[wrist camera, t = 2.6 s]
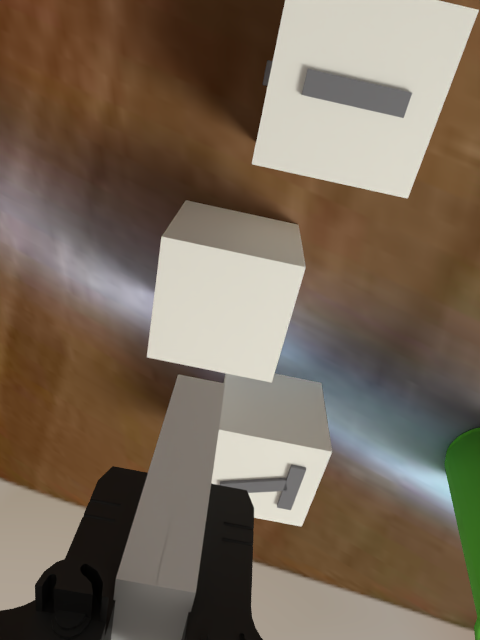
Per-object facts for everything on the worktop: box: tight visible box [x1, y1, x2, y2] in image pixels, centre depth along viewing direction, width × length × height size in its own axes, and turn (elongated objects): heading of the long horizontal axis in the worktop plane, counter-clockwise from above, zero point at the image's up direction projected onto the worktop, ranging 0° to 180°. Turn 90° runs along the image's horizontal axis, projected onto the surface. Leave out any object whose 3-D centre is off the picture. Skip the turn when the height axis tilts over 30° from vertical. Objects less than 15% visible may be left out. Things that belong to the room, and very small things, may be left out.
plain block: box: [147, 200, 306, 383], centre depth 23 cm, size 6×6×6 cm
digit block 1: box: [252, 0, 479, 198], centre depth 18 cm, size 6×6×6 cm
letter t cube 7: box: [211, 373, 332, 527], centre depth 27 cm, size 6×6×6 cm
